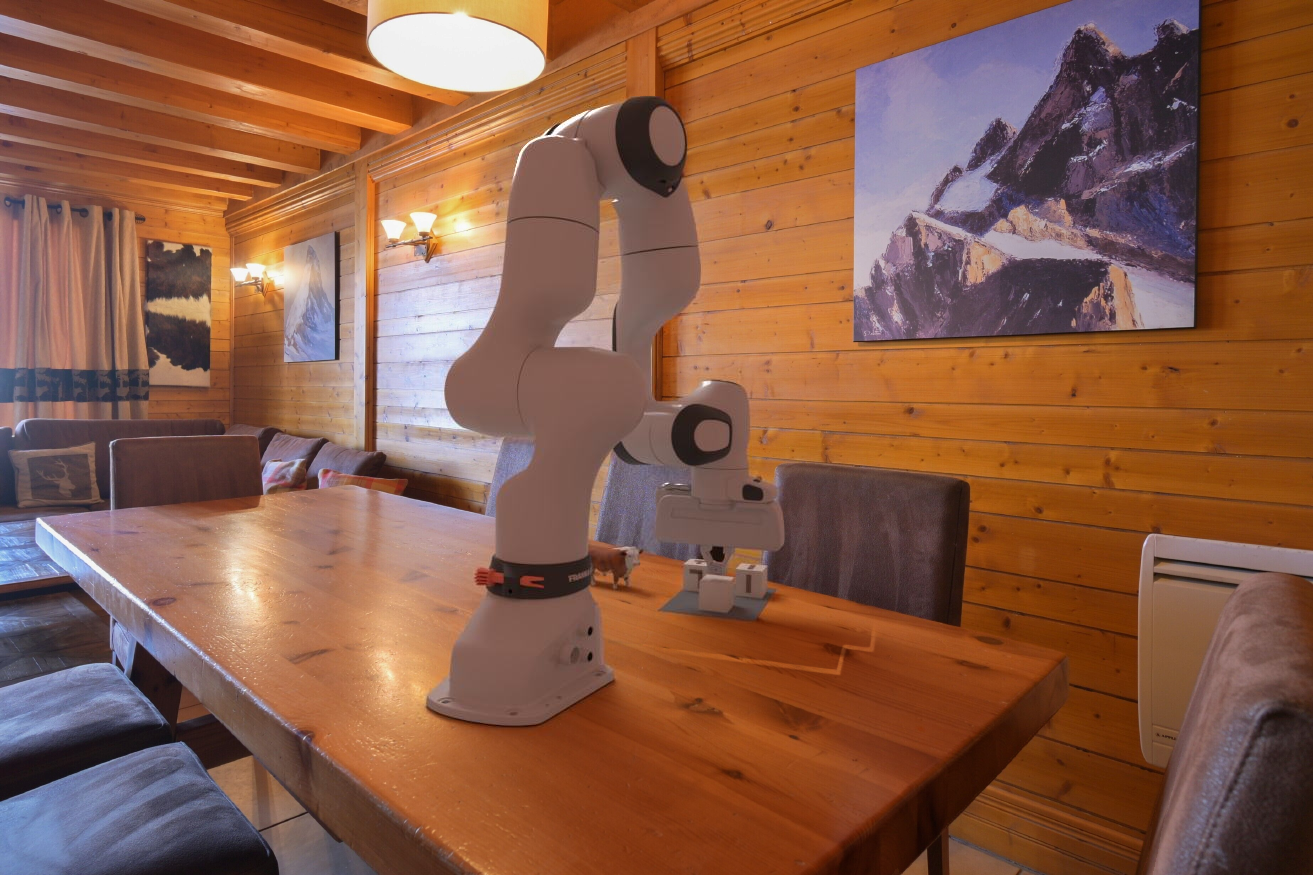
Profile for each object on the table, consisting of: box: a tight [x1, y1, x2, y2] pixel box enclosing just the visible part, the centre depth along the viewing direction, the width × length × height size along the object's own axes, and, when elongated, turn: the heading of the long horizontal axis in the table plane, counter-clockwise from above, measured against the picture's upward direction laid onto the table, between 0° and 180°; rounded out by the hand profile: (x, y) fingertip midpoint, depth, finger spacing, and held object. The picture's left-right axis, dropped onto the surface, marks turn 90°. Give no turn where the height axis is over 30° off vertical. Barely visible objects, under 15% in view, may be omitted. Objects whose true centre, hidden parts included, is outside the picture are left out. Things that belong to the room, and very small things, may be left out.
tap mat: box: [657, 583, 777, 623], centre depth 120 cm, size 20×15×1 cm
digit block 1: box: [734, 562, 768, 599], centre depth 124 cm, size 5×4×5 cm
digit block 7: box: [682, 558, 717, 592], centre depth 126 cm, size 5×4×5 cm
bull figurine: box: [588, 543, 644, 590], centre depth 127 cm, size 4×13×8 cm, turn 53°
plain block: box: [699, 575, 735, 613], centre depth 115 cm, size 4×4×4 cm
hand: (716, 574), depth 115 cm, fingers closed
